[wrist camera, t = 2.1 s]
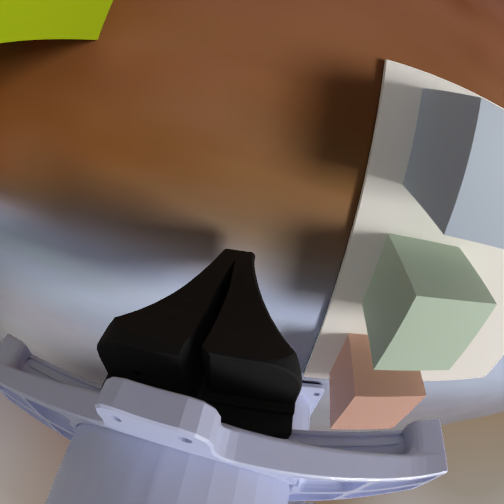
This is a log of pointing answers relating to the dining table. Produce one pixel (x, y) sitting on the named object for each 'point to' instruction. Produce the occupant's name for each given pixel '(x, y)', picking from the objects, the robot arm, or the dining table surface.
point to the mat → (402, 233)
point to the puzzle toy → (51, 19)
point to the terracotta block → (369, 389)
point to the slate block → (459, 165)
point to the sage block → (423, 305)
